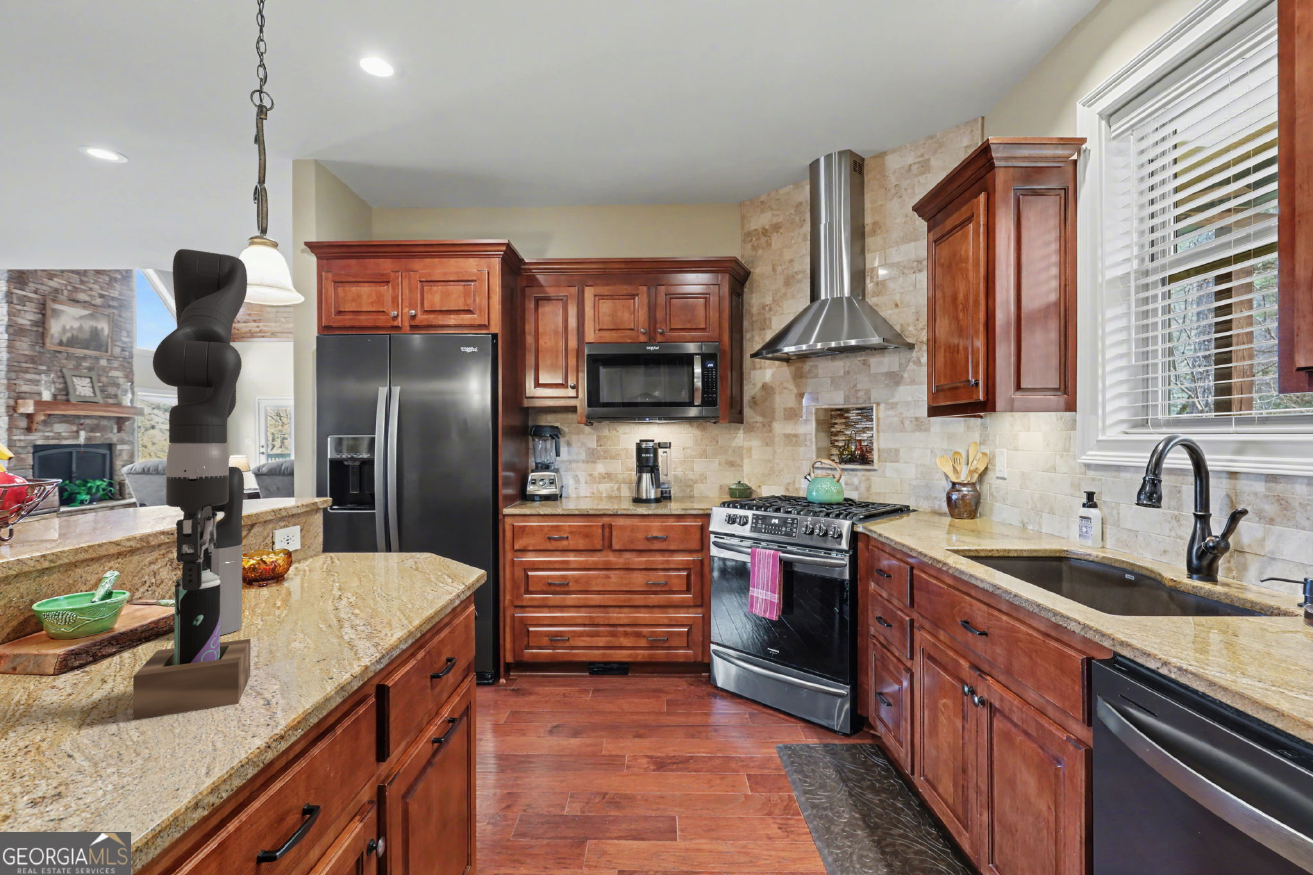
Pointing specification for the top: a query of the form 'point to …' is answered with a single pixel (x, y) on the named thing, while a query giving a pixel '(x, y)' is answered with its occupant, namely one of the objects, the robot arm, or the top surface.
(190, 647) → the spray can
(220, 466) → the robot arm
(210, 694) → the walnut holder
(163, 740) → the top surface
